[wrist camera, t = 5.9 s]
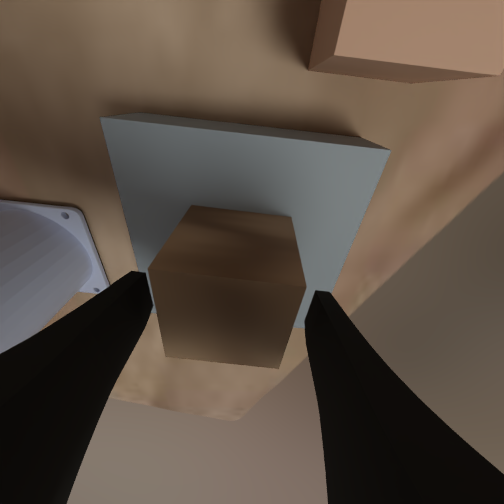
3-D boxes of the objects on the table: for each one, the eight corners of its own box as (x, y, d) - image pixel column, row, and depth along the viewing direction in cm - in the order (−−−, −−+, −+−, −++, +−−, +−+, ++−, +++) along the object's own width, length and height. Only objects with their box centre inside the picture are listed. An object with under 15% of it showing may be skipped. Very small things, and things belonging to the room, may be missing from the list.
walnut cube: (195, 279, 14) (165, 356, 10) (191, 204, 11) (147, 268, 7) (274, 289, 14) (278, 368, 10) (291, 217, 11) (306, 286, 7)
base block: (169, 275, 19) (149, 312, 16) (143, 111, 12) (99, 117, 9) (307, 290, 19) (316, 329, 16) (358, 136, 12) (391, 150, 9)
